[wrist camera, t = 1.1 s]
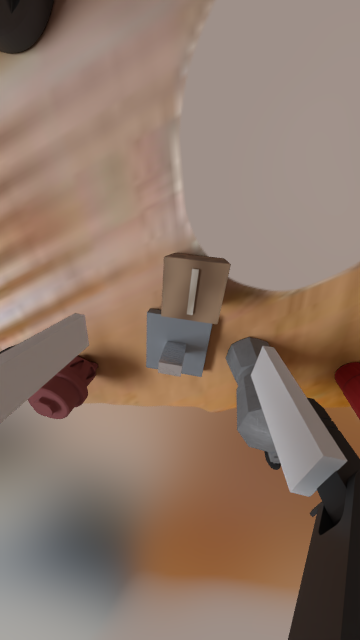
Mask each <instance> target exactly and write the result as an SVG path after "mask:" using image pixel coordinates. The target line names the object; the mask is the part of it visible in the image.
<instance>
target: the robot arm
mask: <svg viewBox="0 0 360 640" xmlns="http://www.w3.org/2000/svg"><path fill="white" fill-rule="evenodd" d="M52 4H53V0H0V51H1V52H6V53H17V52H21V51H24V50H26V49H28V48H29V47H31V46H32V45H33V44H34V43H35V42H36V41H37V40H38V38H39V37H40V35H41V34H42V32H43V30H44V28H45V26H46V24H47V21H48V19H49V16H50V12H51V8H52ZM88 346H89V341H88V335H87V328H86V321H85V315H82V314H77V313H75V314H73V315H71V316H69V317H67V318H65V319H64V320H62V321H60V322H58V323H56V324H54V325H53V326H51V327H49V328H47V329H45V330H43V331H42V332H40V333H38V334H36V335H34V336H32V337H30V338H29V339H27V340H25V341H23V342H21V343H19V344H17V345H14V346H12V347H9V348H7V349H5V350H3V351H1V352H0V423H2V422H3V421H4V420H5V419H6V418H7V417H8V416H9V415H11V414H12V413H13V412H14V411H15V410H16V409H17V408H18V407H20V406H21V405H22V404H23V403H24V402H25V401H26V400H28V399H29V398H30V397H31V396H32V395H33V394H34V393H35V392H37V391H38V390H39V389H40V388H41V387H42V386H43V385H45V384H46V383H47V382H48V381H49V380H50V379H51V378H52V377H54V376H55V375H56V374H57V373H58V372H59V371H60V370H62V369H63V368H64V367H65V366H66V365H67V364H68V363H69V362H71V361H72V360H73V359H74V358H75V357H76V356H77V355H79V354H80V353H81V352H82V351H83V350H84V349H85V348H86V347H88ZM251 377H252V380H253V383H254V386H255V389H256V392H257V395H258V398H259V401H260V404H261V407H262V410H263V413H264V416H265V419H266V422H267V425H268V428H269V431H270V434H271V437H272V440H273V443H274V446H275V449H276V452H277V454H278V457H279V460H280V463H281V466H282V469H283V472H284V475H285V478H286V481H287V484H288V487H289V490H290V492H292V493H296V494H300V495H305V496H309V497H310V496H311V495H312V494H313V493H314V492H315V491H316V490H317V491H318V493H319V495H320V497H321V499H322V502H321V503H320V504H318V505H317V506H316V507H315V508H314V509H313V510H312V511H311V513H310V515H311V516H312V517H313V516H315V515H316V514H317V516H316V520H315V524H314V529H313V533H312V537H311V543H310V546H309V551H308V555H307V559H306V564H305V568H304V572H303V577H302V581H301V585H300V590H299V595H298V598H297V603H296V607H295V611H294V616H293V620H292V625H291V629H290V633H289V638H288V640H360V459H359V457H358V456H357V454H356V453H355V452H354V450H353V449H352V448H351V446H350V445H349V443H348V442H347V441H346V439H345V438H344V436H343V435H342V433H341V432H340V431H339V430H338V428H337V427H336V425H335V424H334V422H333V421H331V418H330V417H329V415H328V414H327V412H326V411H325V409H324V408H323V407H322V406H321V405H319V404H318V403H317V402H316V401H315V400H314V399H311V398H306V396H305V394H304V393H303V391H302V390H301V388H300V387H299V385H298V384H297V382H296V381H295V379H294V377H293V376H292V374H291V373H290V371H289V370H288V368H287V367H286V365H285V364H284V362H283V361H282V359H281V357H280V356H279V354H278V353H277V351H276V350H275V348H274V347H268V346H262V349H261V351H260V354H259V356H258V359H257V361H256V364H255V366H254V369H253V371H252V374H251Z"/></svg>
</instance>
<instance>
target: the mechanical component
mask: <svg viewBox="0 0 360 640" xmlns="http://www.w3.org/2000/svg"><path fill="white" fill-rule="evenodd" d="M97 368H98V364H97V363H94V362H89V361H87V360H85V359H83V358H81V357H80V356H76V357H75V358H74V359H73V360H72V361H71V362H69V363H68V364H67V365H66V366H65V367H64V368H63V369H62V370H60V371H59V372H58V373H57V374H56V375H55V376H54V377H52V378H51V379H50V380H49V381H48V382H47V383H46V384H45V385H43V386H42V387H41V388H40V389H39V390H38V391H37V392H35V393H34V394H33V395H32V396H31V397H30V398H29V399H28V401H29V403H30V405H31V406H32V407H33V408H34V410H35V411H36V412H37V413H39V414H41V415H43V416H47V417H50V418H54V419H63V418H65V417H67V416H68V414H69V413H70V412H71V411H72V409H73V408H74V407H78V406H80V405H81V404H82V403H83V402H84V401H85V399H86V398H87V396H88V390H87V386H88V385H89V383H90V382H91V381H92V380H93V379H94V377H95V375H96V371H95V370H96V369H97Z"/></svg>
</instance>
